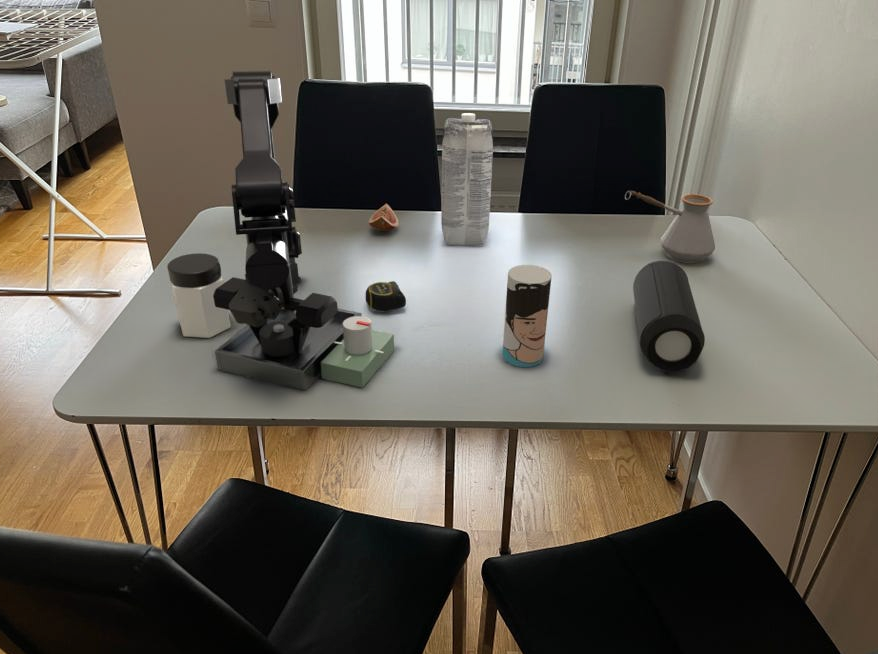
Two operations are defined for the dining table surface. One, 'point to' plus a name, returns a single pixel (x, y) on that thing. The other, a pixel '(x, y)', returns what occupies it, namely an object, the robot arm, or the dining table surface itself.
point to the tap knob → (357, 335)
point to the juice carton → (466, 180)
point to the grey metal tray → (274, 370)
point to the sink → (310, 348)
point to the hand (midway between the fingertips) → (281, 348)
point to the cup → (526, 315)
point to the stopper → (277, 339)
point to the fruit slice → (384, 219)
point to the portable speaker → (667, 317)
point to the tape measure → (385, 296)
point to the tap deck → (357, 361)
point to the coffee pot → (686, 228)
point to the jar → (198, 295)
